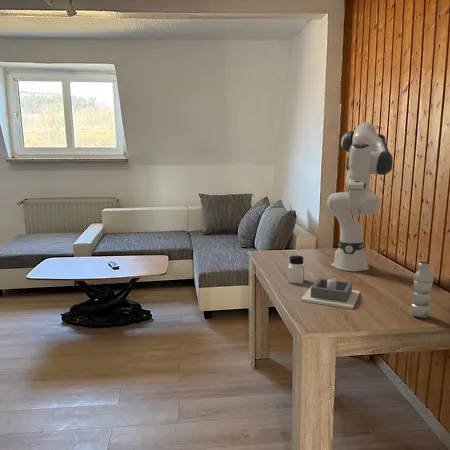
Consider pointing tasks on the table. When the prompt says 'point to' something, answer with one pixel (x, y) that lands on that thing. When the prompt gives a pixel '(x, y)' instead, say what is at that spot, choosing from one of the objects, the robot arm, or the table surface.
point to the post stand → (332, 285)
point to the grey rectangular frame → (331, 290)
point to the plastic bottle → (422, 291)
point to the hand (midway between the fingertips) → (356, 215)
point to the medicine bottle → (296, 269)
